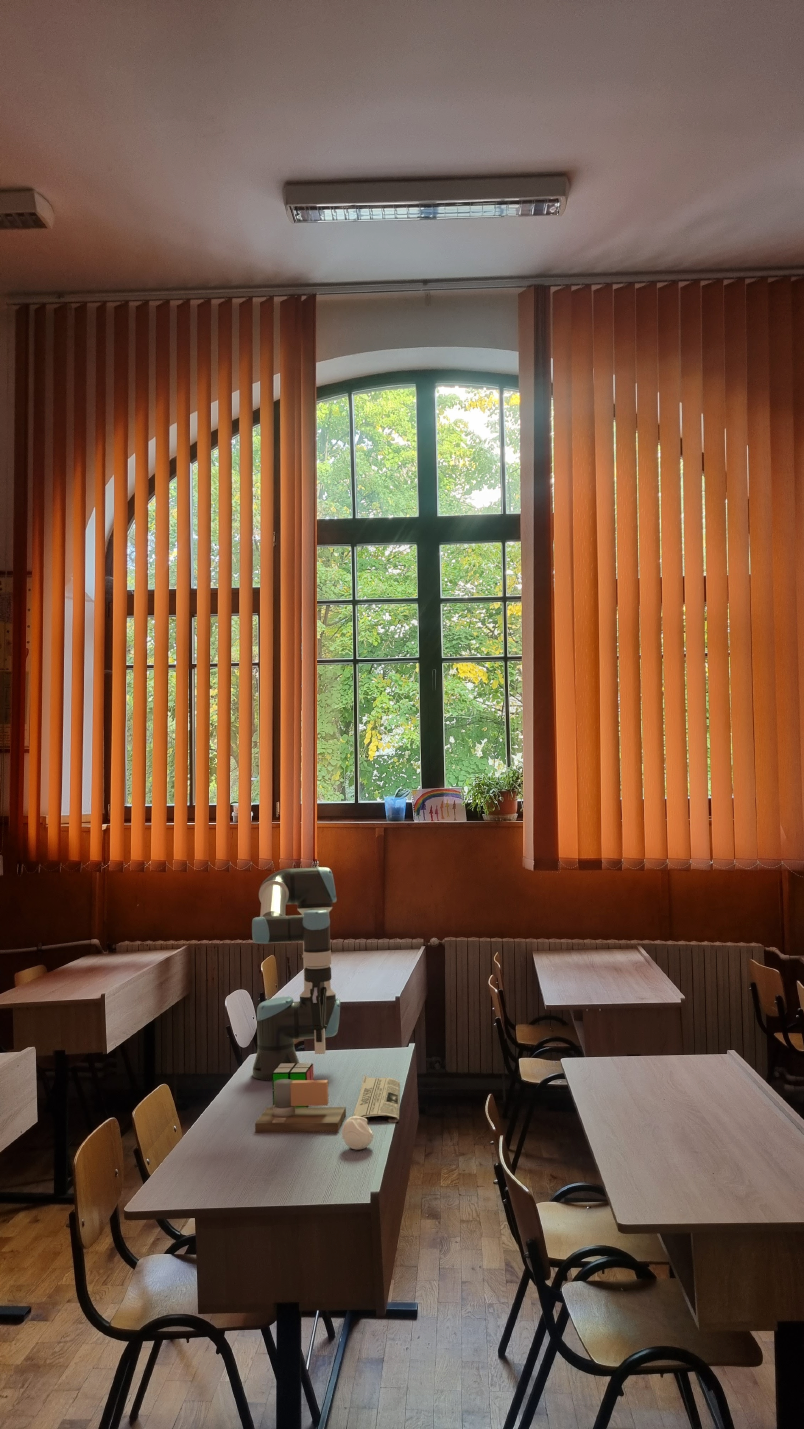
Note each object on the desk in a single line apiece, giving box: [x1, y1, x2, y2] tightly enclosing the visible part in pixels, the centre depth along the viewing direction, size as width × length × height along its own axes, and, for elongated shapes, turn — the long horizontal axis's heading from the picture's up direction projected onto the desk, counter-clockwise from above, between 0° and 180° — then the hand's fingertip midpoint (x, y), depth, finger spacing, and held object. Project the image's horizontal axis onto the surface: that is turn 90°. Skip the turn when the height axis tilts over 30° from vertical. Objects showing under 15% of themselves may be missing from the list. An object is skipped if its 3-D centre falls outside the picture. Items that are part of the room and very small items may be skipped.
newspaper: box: [352, 1075, 401, 1124], centre depth 275 cm, size 35×12×4 cm, turn 0°
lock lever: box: [273, 1079, 330, 1108], centre depth 261 cm, size 5×14×6 cm, turn 84°
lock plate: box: [254, 1104, 347, 1134], centre depth 259 cm, size 13×22×4 cm, turn 84°
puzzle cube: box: [271, 1062, 315, 1107], centre depth 278 cm, size 10×10×10 cm
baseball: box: [341, 1116, 374, 1151], centre depth 239 cm, size 8×8×8 cm
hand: (320, 1053), depth 268 cm, fingers closed
